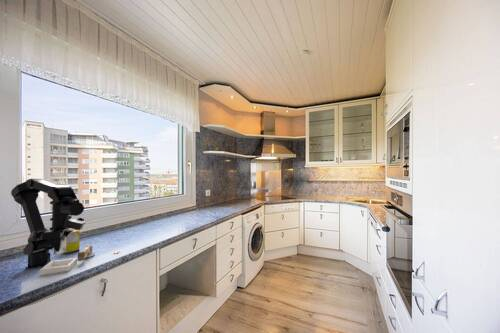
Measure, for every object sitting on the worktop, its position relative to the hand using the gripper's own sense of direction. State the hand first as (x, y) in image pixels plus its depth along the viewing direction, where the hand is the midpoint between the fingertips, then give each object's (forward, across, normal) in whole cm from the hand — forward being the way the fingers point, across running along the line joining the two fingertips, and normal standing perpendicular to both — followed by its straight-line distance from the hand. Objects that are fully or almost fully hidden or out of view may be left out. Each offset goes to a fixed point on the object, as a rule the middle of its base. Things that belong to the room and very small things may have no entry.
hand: (59, 249), depth 94 cm
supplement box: (+9, +25, +4) cm, 27 cm away
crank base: (+8, +13, -13) cm, 20 cm away
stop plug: (+1, 0, 0) cm, 1 cm away
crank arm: (+7, +8, -7) cm, 13 cm away
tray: (+8, 0, 0) cm, 9 cm away
